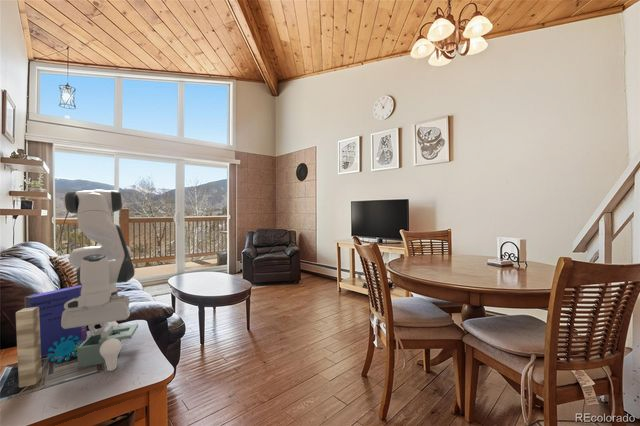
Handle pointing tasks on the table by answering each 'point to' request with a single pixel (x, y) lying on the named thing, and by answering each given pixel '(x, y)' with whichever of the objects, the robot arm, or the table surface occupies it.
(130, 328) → the lid
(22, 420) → the table surface
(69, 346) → the gear
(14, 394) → the table surface
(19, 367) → the beige tall ridged block
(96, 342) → the green open box
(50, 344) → the cereal box
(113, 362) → the lightbulb
